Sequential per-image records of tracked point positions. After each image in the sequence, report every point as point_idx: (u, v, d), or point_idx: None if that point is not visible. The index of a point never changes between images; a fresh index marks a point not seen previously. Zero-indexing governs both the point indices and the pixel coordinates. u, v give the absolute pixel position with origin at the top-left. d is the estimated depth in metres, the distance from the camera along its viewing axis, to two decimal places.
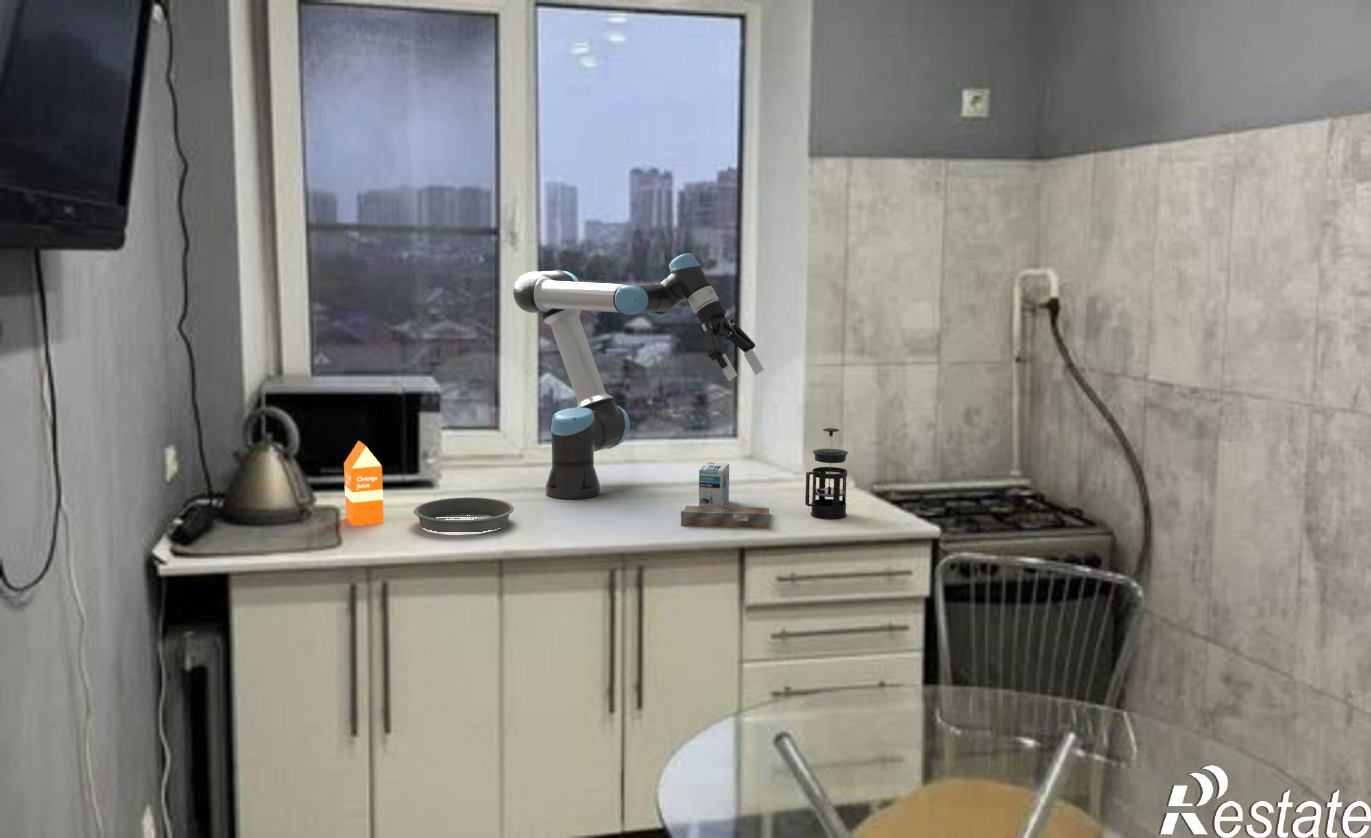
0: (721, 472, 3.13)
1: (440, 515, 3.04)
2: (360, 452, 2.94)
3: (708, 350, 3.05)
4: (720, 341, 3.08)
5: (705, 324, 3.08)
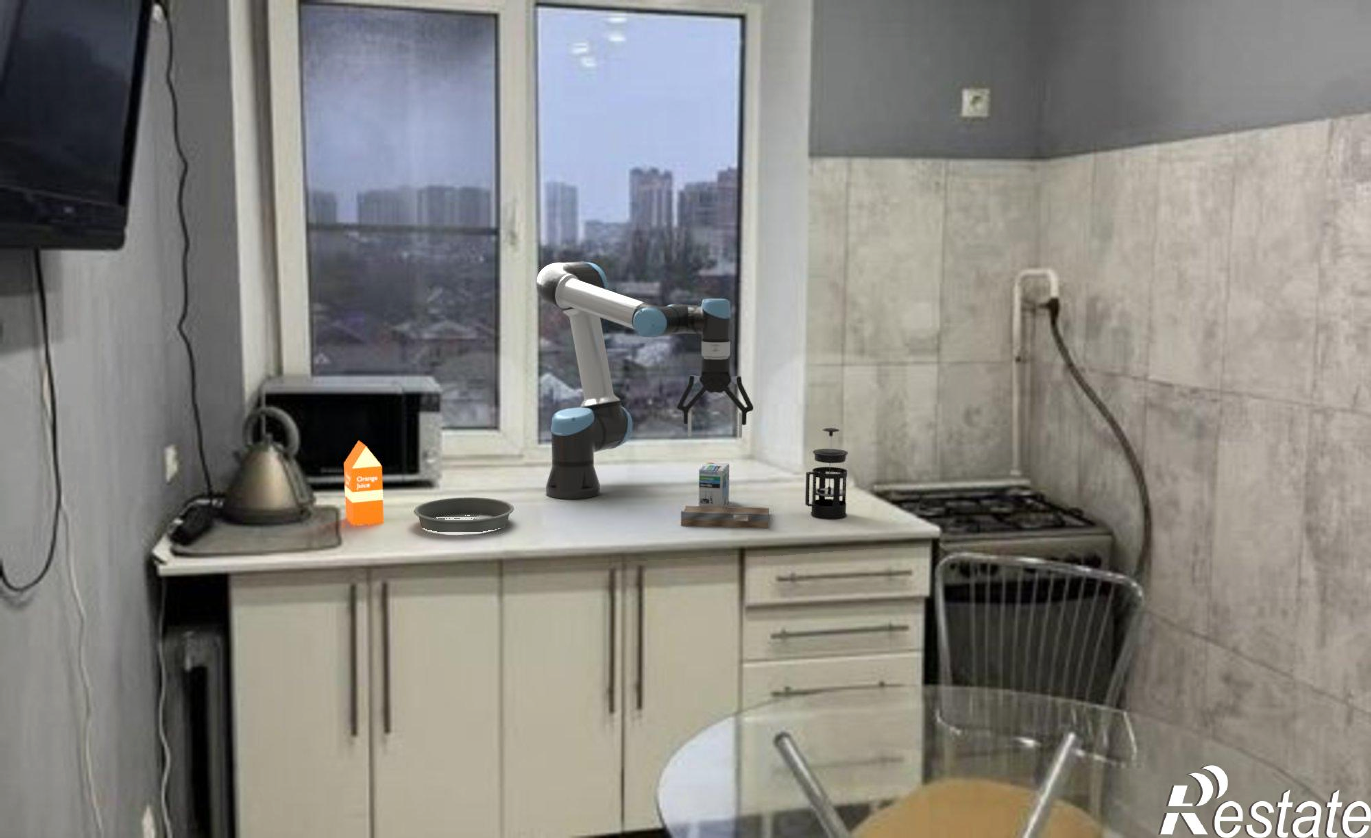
0: (721, 472, 3.13)
1: (440, 515, 3.04)
2: (360, 452, 2.94)
3: None
4: (695, 398, 3.14)
5: None
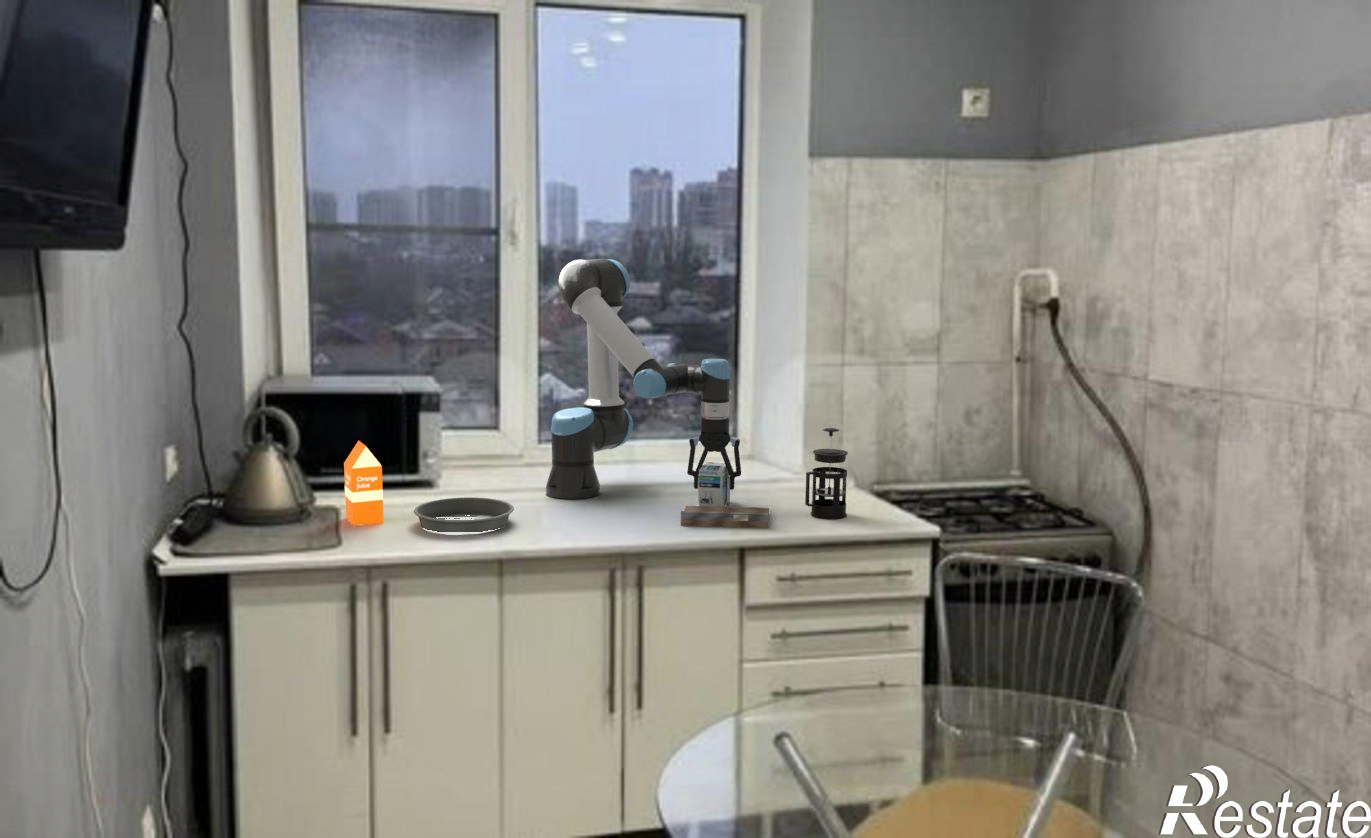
0: (721, 472, 3.13)
1: (440, 515, 3.04)
2: (360, 452, 2.94)
3: None
4: (701, 461, 3.17)
5: (689, 441, 3.17)
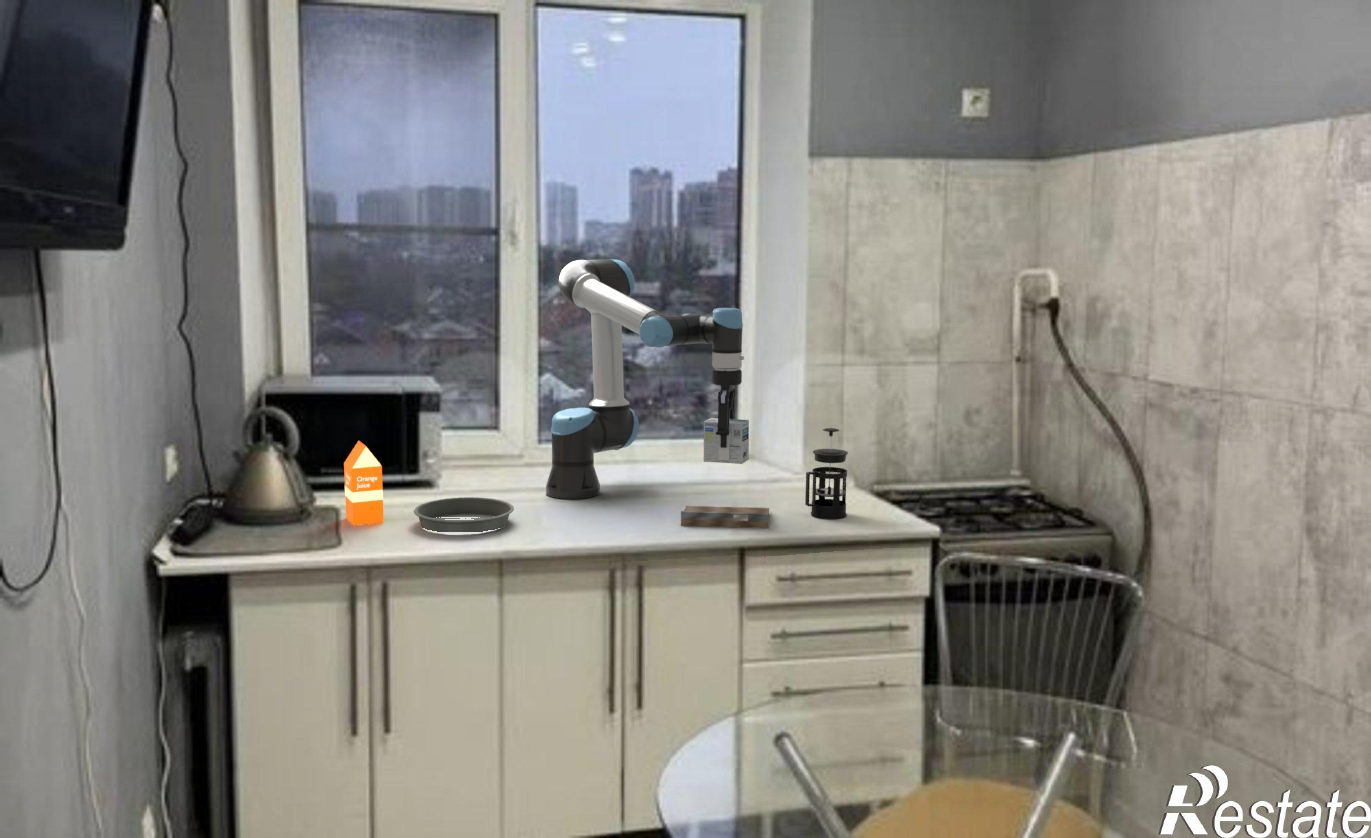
0: (748, 421, 3.06)
1: (440, 515, 3.04)
2: (360, 452, 2.94)
3: (719, 426, 2.98)
4: (729, 417, 3.01)
5: (726, 398, 2.97)
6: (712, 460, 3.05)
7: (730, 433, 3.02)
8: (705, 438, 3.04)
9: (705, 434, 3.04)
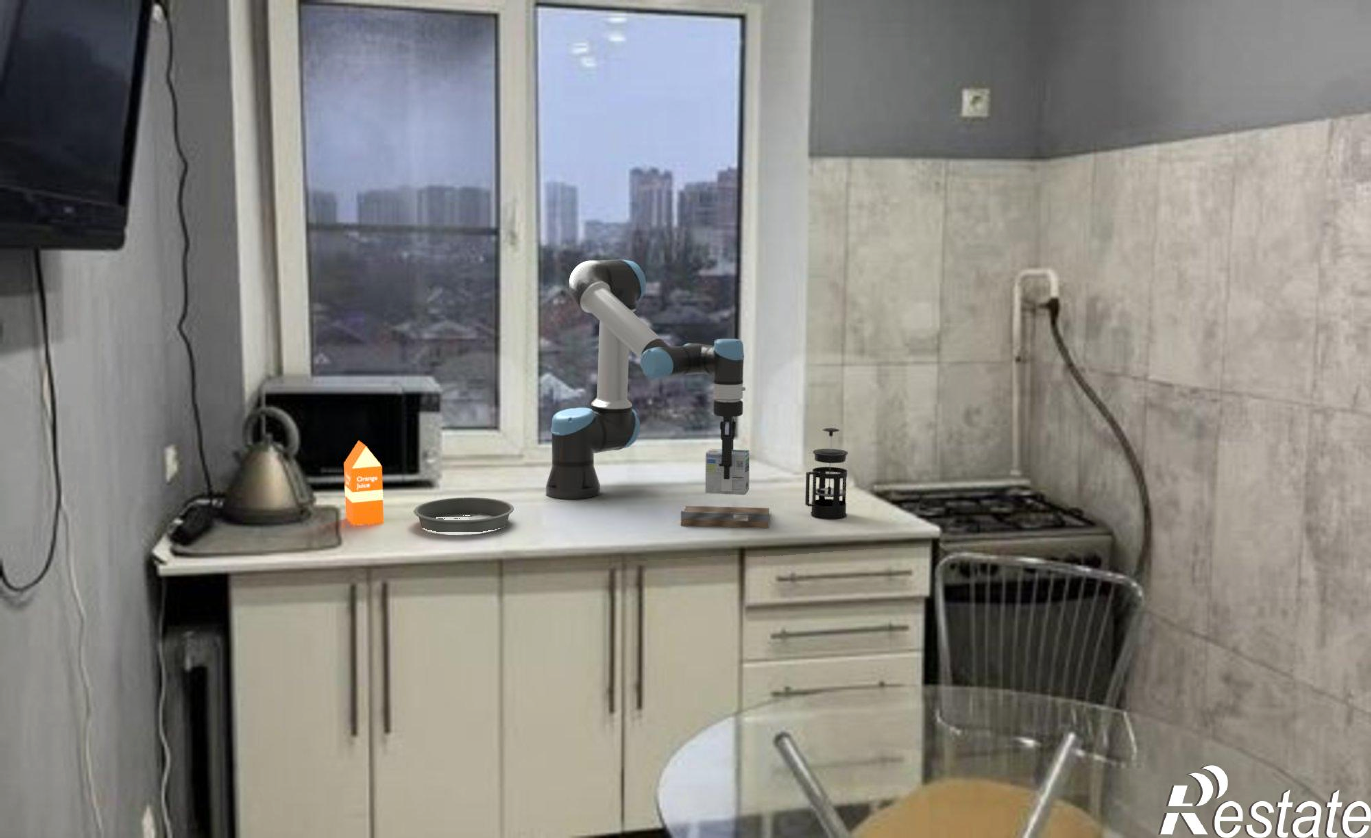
0: None
1: (440, 515, 3.04)
2: (360, 452, 2.94)
3: (723, 458, 2.98)
4: None
5: (730, 430, 2.97)
6: (714, 491, 3.03)
7: (733, 464, 3.01)
8: (707, 469, 3.03)
9: (707, 465, 3.03)
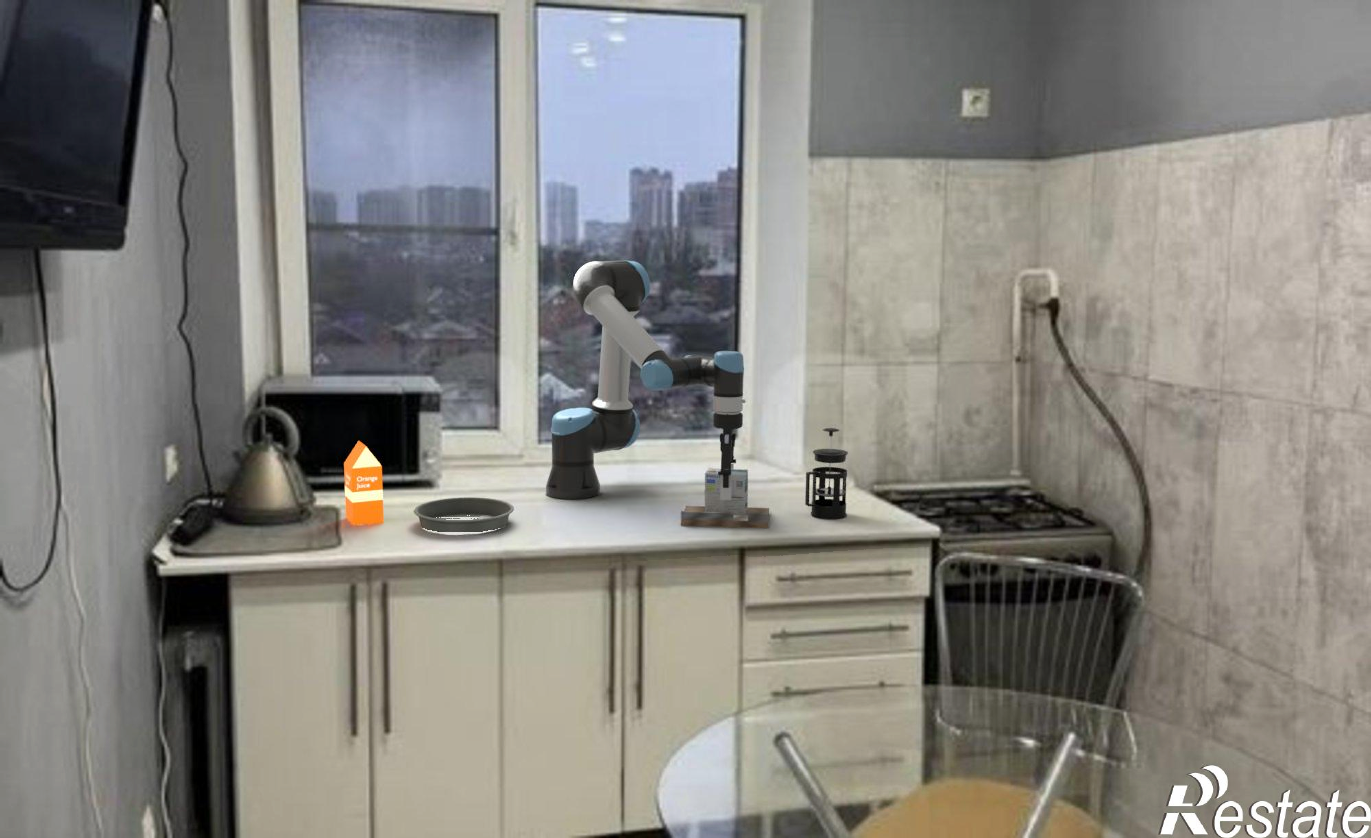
0: (747, 471, 3.07)
1: (440, 515, 3.04)
2: (360, 452, 2.94)
3: (723, 466, 2.96)
4: (731, 458, 2.99)
5: (729, 438, 2.97)
6: (713, 511, 3.04)
7: (732, 484, 3.02)
8: (706, 489, 3.03)
9: (706, 485, 3.03)
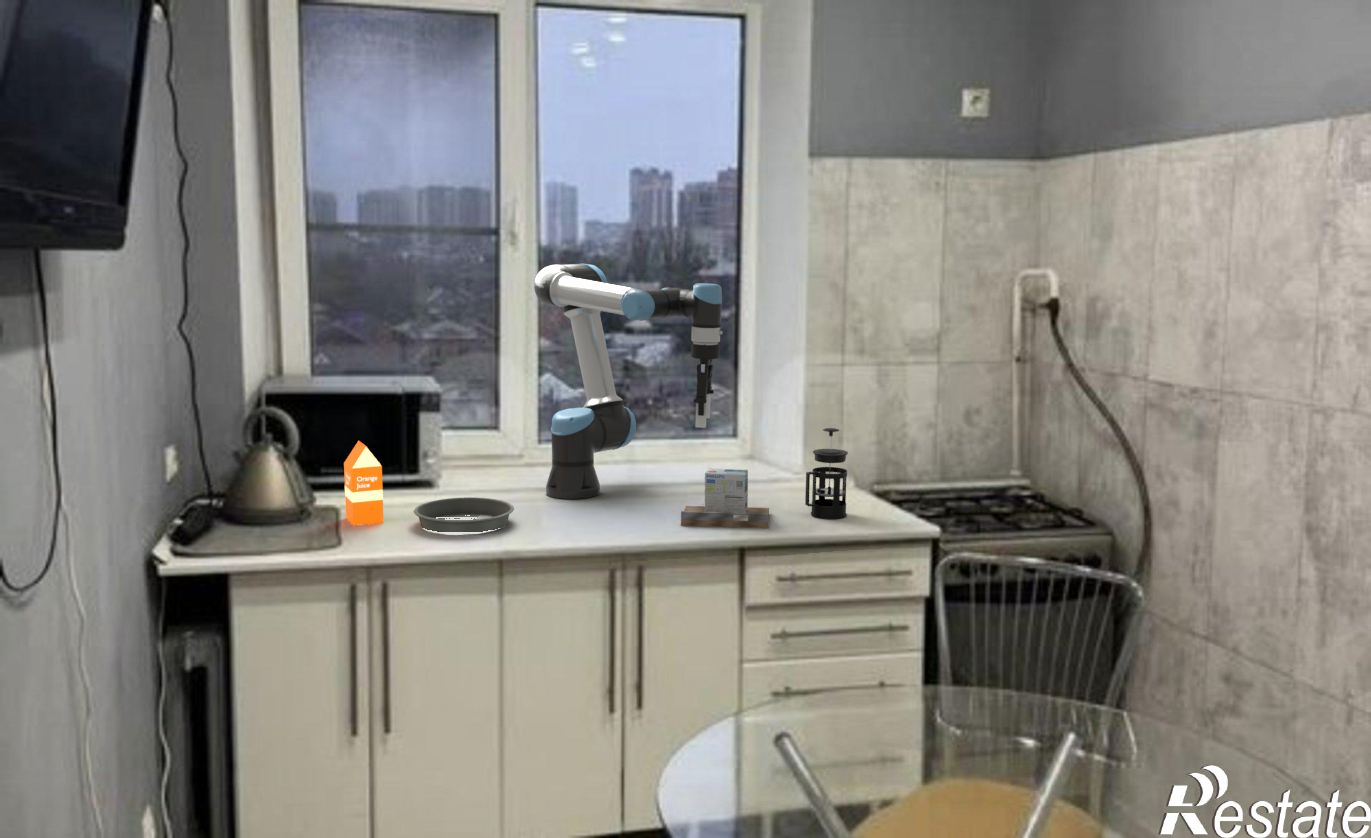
0: (747, 471, 3.07)
1: (440, 515, 3.04)
2: (360, 452, 2.94)
3: (698, 394, 3.03)
4: (707, 387, 3.07)
5: (706, 367, 3.05)
6: (713, 511, 3.04)
7: (732, 484, 3.02)
8: (706, 489, 3.03)
9: (706, 485, 3.03)
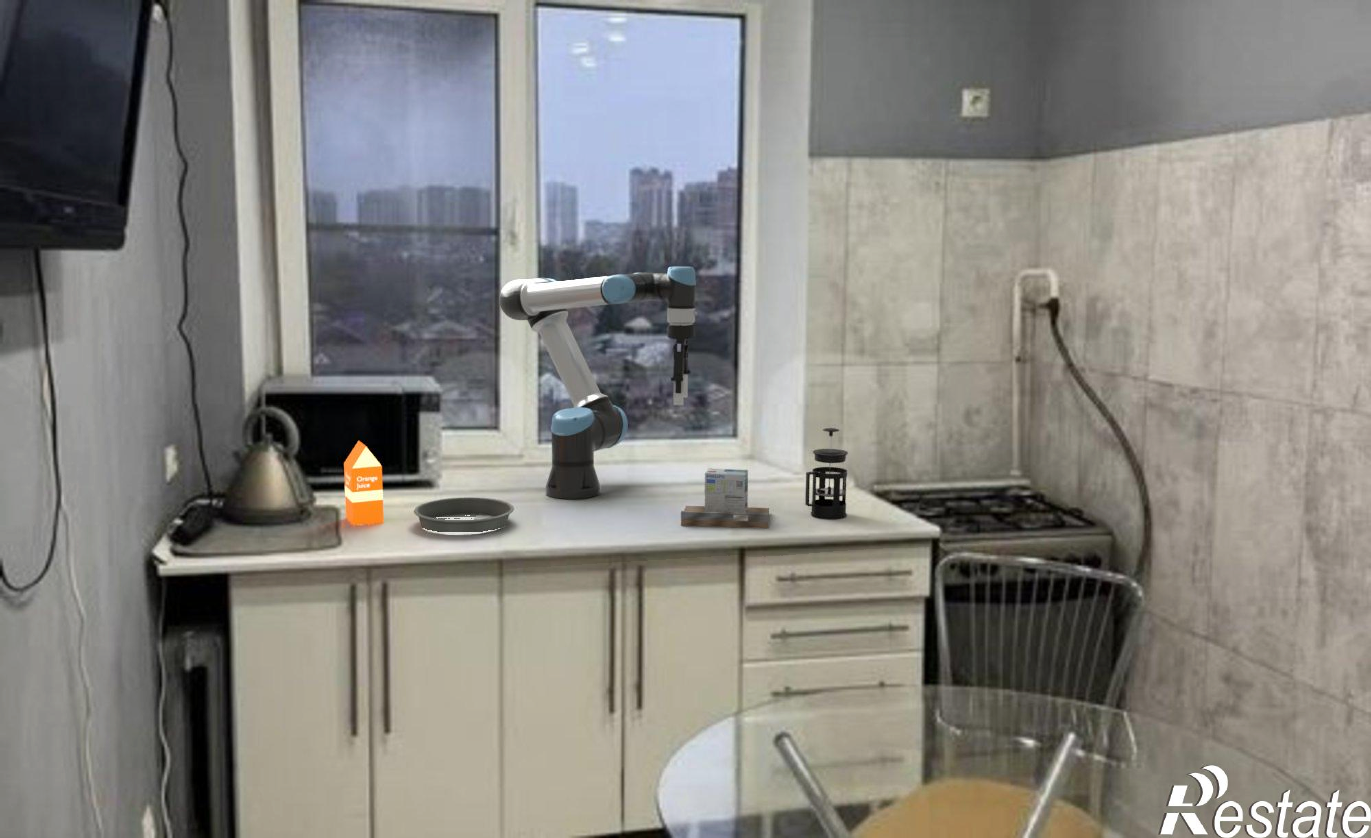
0: (747, 471, 3.07)
1: (440, 515, 3.04)
2: (360, 452, 2.94)
3: (675, 372, 3.14)
4: (683, 366, 3.18)
5: (682, 346, 3.16)
6: (713, 511, 3.04)
7: (732, 484, 3.02)
8: (706, 489, 3.03)
9: (706, 485, 3.03)
